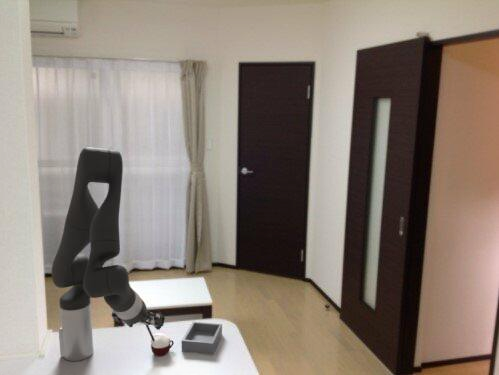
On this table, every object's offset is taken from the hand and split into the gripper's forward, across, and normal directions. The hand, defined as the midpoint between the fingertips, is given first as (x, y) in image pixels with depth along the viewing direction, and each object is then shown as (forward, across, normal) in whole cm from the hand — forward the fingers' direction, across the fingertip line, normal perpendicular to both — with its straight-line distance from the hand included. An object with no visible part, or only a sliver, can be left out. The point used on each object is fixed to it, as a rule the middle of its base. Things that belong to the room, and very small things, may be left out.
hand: (145, 325), depth 141 cm
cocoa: (+19, 0, +3) cm, 19 cm away
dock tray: (+25, -12, -3) cm, 28 cm away
